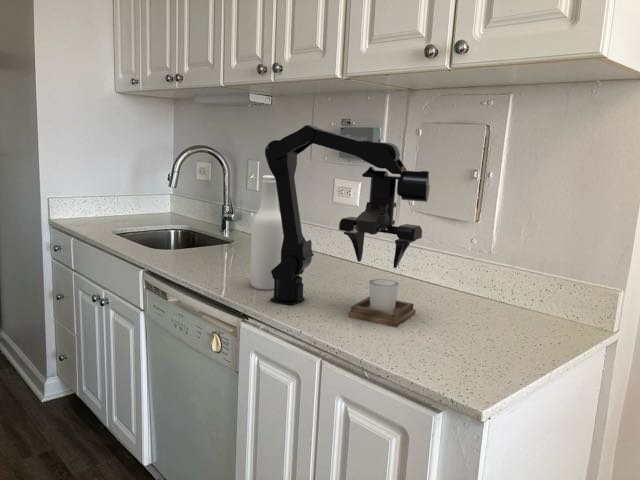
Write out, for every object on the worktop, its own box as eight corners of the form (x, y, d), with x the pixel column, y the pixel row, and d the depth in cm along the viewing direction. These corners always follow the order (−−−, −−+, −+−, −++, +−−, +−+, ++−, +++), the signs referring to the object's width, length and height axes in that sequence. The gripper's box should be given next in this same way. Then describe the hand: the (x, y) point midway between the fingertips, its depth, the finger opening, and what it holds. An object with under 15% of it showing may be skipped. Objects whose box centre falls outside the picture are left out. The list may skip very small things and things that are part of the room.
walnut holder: (347, 316, 122) (348, 306, 122) (369, 304, 132) (370, 294, 132) (396, 327, 116) (397, 316, 116) (415, 313, 126) (416, 303, 126)
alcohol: (287, 289, 143) (292, 177, 137) (256, 291, 139) (260, 177, 133) (275, 280, 151) (279, 174, 145) (245, 283, 147) (248, 174, 141)
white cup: (378, 304, 129) (380, 276, 128) (402, 311, 124) (404, 282, 123) (361, 310, 124) (363, 281, 122) (386, 317, 119) (388, 287, 118)
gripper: (329, 196, 119) (325, 263, 122) (407, 205, 110) (401, 278, 112) (351, 193, 128) (347, 256, 131) (425, 201, 119) (419, 268, 122)
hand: (377, 264), depth 124 cm, fingers open, 9 cm apart
